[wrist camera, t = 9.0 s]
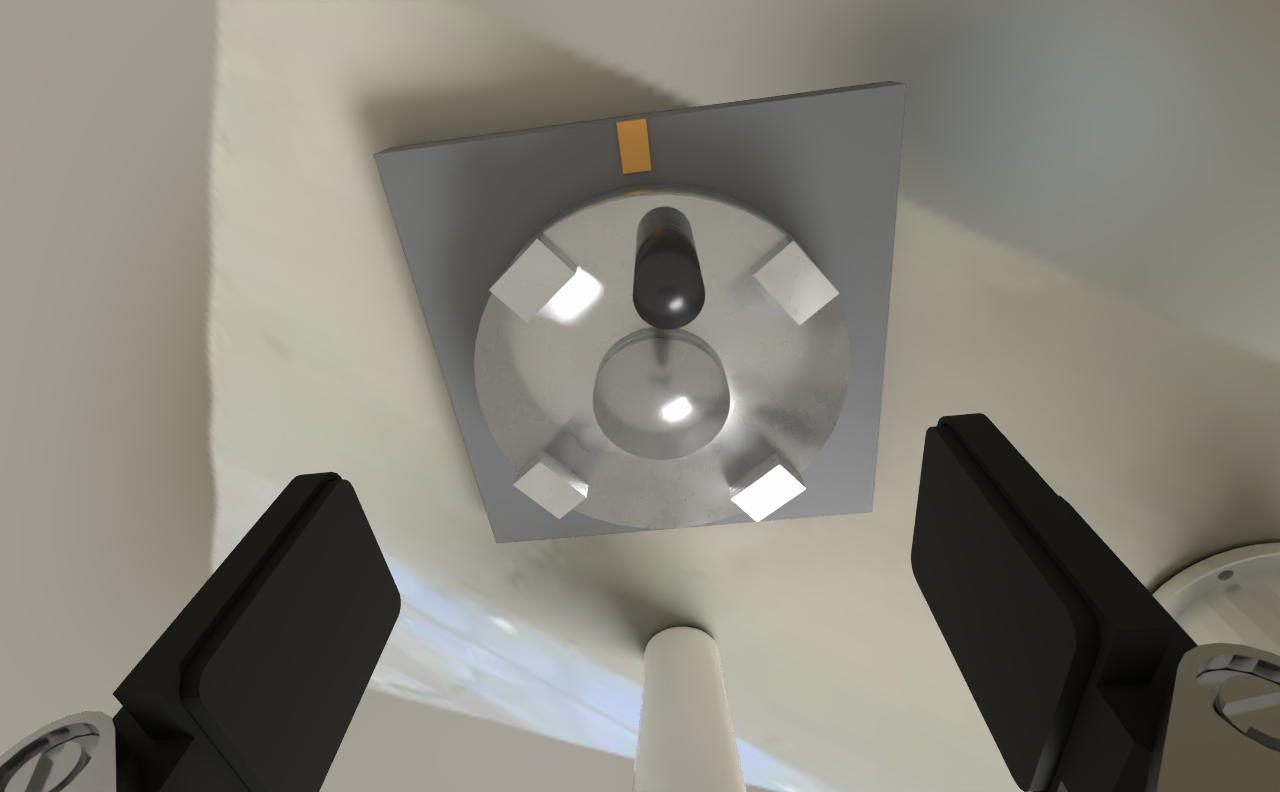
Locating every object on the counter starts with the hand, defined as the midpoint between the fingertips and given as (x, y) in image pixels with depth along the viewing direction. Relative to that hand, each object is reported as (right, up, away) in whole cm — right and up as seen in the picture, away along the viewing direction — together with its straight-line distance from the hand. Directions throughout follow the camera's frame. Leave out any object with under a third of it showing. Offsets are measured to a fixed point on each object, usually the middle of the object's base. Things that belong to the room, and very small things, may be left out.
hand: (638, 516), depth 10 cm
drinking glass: (+3, -16, +34) cm, 38 cm away
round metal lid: (+1, +4, +20) cm, 21 cm away
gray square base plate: (+1, +5, +22) cm, 23 cm away
